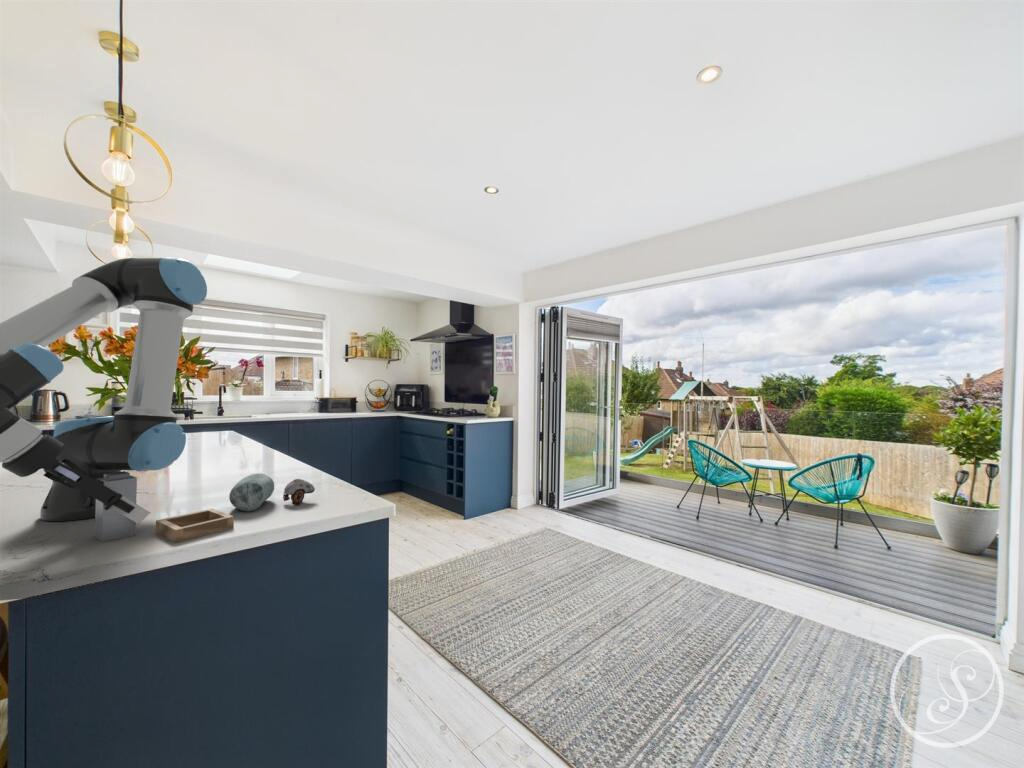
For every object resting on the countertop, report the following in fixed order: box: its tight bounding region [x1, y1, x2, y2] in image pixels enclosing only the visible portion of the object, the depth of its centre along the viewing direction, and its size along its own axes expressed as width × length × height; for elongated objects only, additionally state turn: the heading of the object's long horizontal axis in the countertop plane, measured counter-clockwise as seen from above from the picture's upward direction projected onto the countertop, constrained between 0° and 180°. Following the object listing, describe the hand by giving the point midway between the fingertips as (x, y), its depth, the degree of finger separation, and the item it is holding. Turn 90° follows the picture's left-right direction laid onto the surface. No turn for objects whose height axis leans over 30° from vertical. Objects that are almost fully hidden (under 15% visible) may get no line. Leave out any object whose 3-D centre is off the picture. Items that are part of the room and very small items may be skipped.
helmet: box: [282, 478, 316, 506], centre depth 109 cm, size 6×8×7 cm
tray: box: [155, 508, 235, 543], centre depth 88 cm, size 10×10×2 cm
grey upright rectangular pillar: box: [94, 470, 138, 543], centre depth 84 cm, size 5×5×13 cm
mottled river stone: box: [228, 472, 275, 512], centre depth 106 cm, size 14×10×10 cm
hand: (139, 515), depth 87 cm, fingers closed on grey upright rectangular pillar, 5 cm apart
